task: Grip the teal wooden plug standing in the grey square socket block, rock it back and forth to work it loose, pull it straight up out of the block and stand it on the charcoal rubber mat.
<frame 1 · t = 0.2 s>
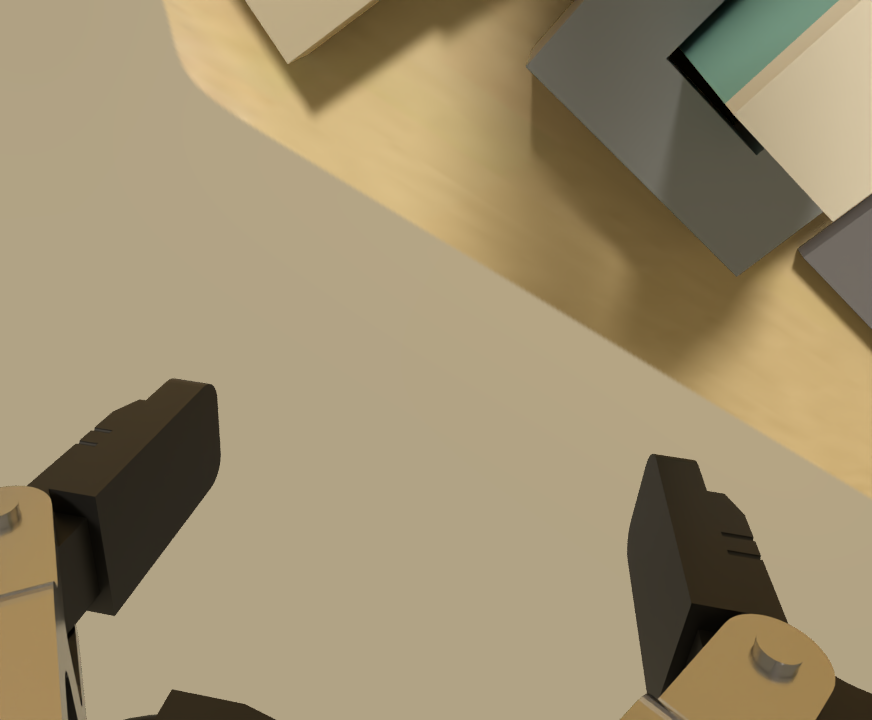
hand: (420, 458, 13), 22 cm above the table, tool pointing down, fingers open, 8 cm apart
grey square socket block: (746, 34, 27), on the table
plug: (788, 62, 22), in the grey square socket block
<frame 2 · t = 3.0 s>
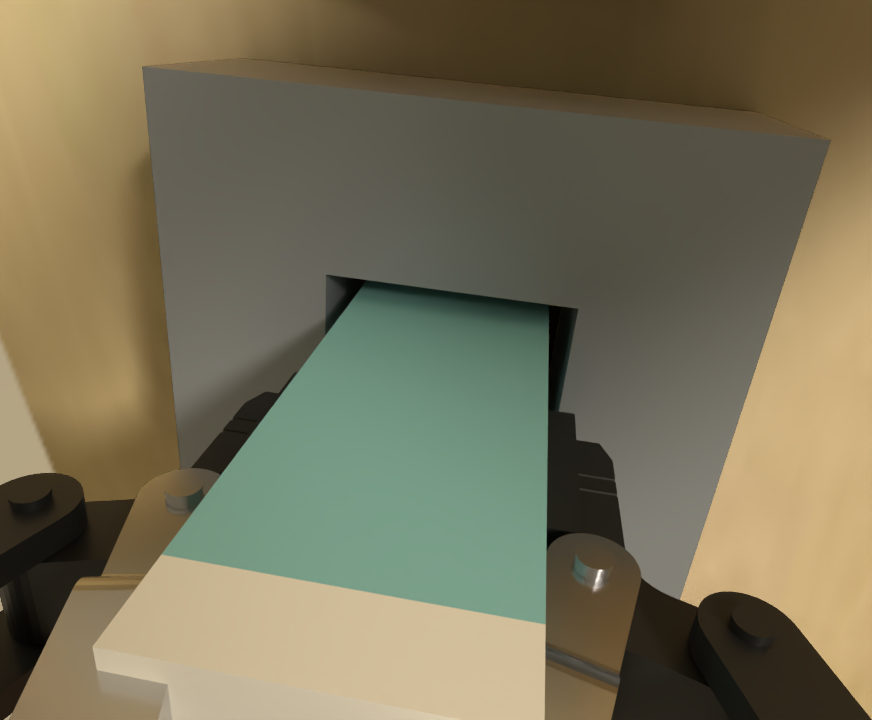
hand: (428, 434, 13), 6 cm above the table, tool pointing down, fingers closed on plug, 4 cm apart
grey square socket block: (463, 322, 18), on the table
plug: (422, 457, 13), in the grey square socket block, touching gripper
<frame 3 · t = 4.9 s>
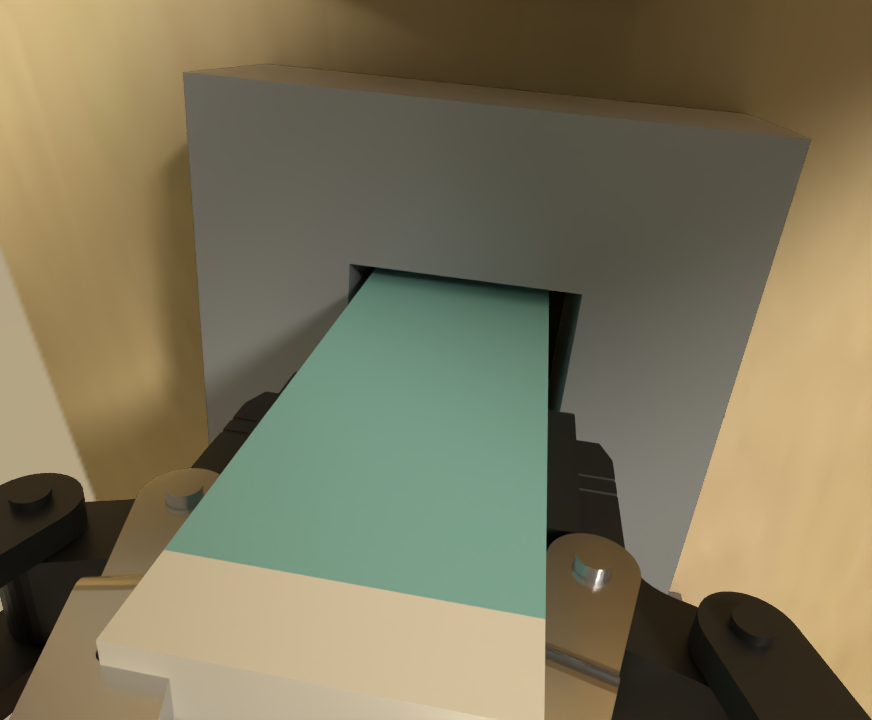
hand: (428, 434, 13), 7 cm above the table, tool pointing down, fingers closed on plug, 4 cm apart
grey square socket block: (472, 311, 20), on the table
plug: (422, 455, 13), point 8 cm above the table, touching gripper
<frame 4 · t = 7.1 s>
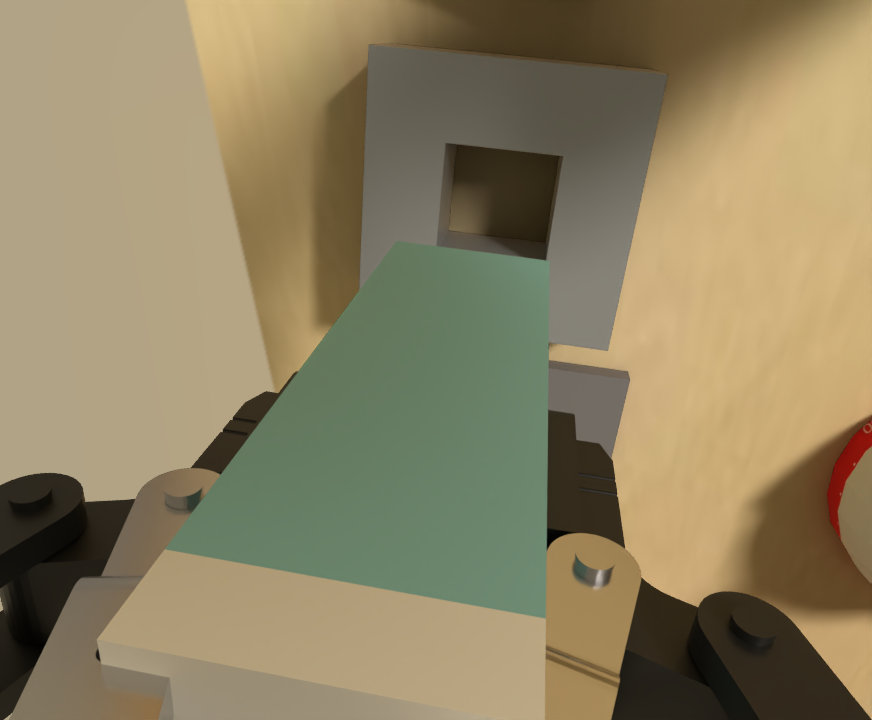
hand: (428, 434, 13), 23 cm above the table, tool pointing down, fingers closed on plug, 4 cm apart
mat: (503, 447, 40), on the table
grey square socket block: (502, 187, 34), on the table
plug: (423, 455, 13), point 24 cm above the table, touching gripper
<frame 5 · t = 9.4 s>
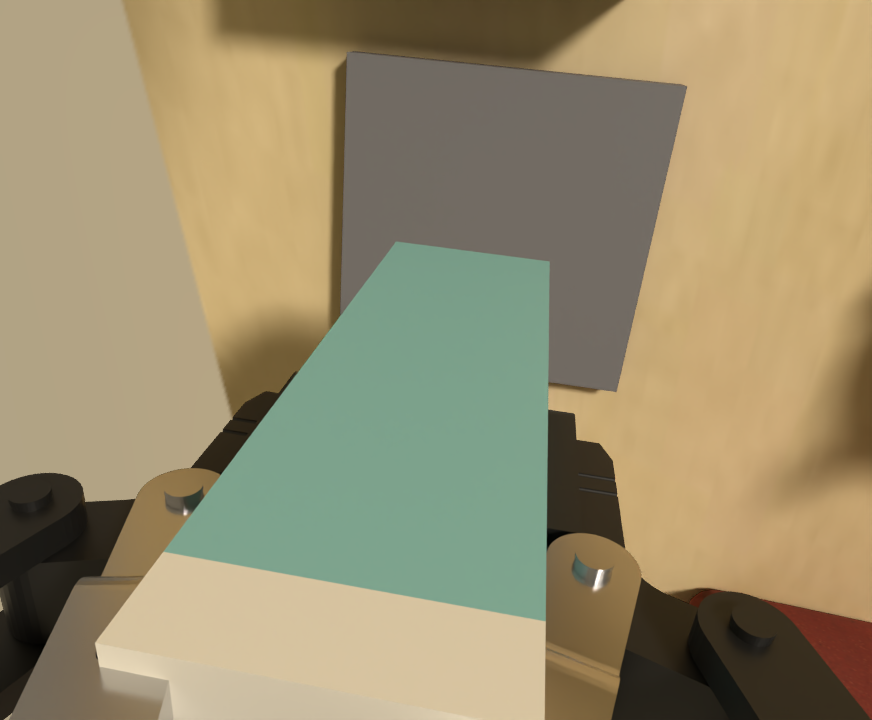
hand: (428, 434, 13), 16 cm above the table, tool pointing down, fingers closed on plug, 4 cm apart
plant pot: (778, 694, 36), on the table
mat: (494, 228, 28), on the table
plug: (422, 456, 13), point 17 cm above the table, touching gripper
when the fingers open (8 cm above the table, at t = 11.2 s): plug stays where it is, resting on mat.
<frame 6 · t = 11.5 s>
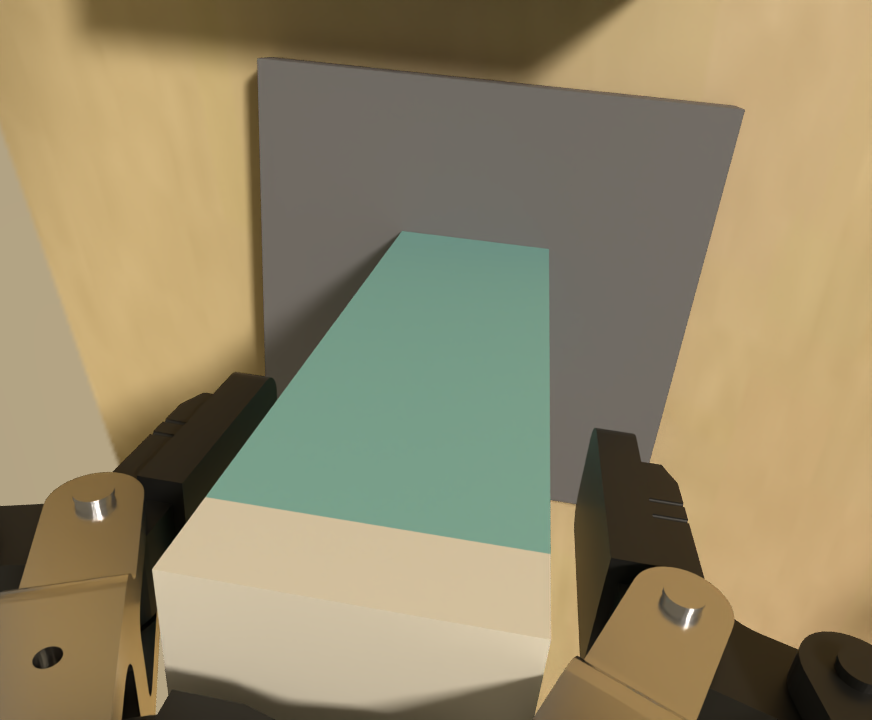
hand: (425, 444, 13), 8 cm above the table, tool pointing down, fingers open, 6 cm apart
mat: (470, 298, 20), on the table
plug: (431, 429, 13), on the mat, point 8 cm above the table
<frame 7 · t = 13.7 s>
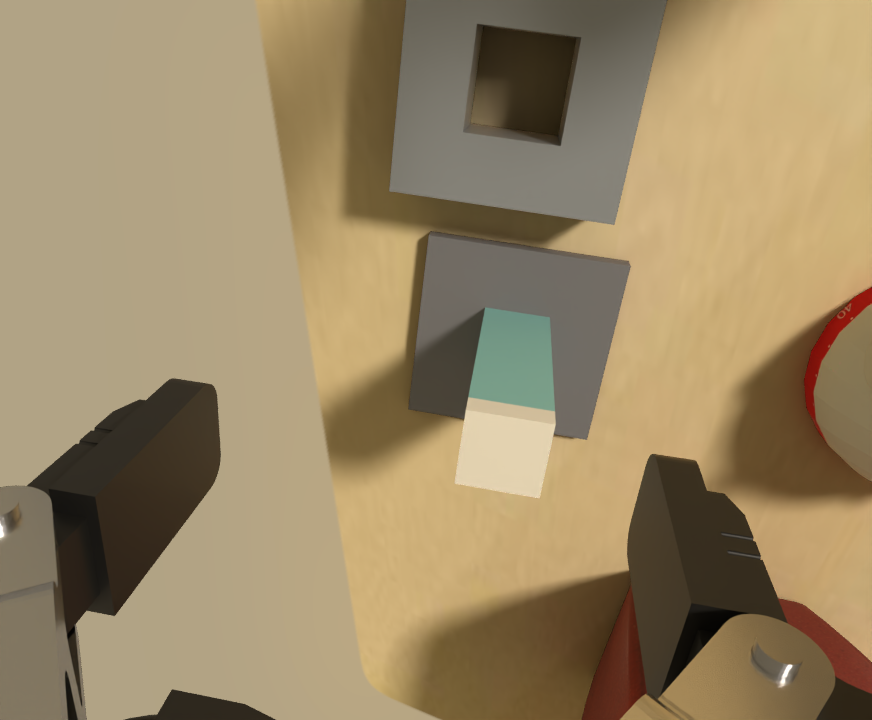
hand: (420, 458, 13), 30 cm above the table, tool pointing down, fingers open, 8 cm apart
plant pot: (694, 644, 53), on the table
mat: (512, 336, 44), on the table
grey square socket block: (521, 82, 38), on the table
plug: (508, 389, 37), on the mat, point 8 cm above the table
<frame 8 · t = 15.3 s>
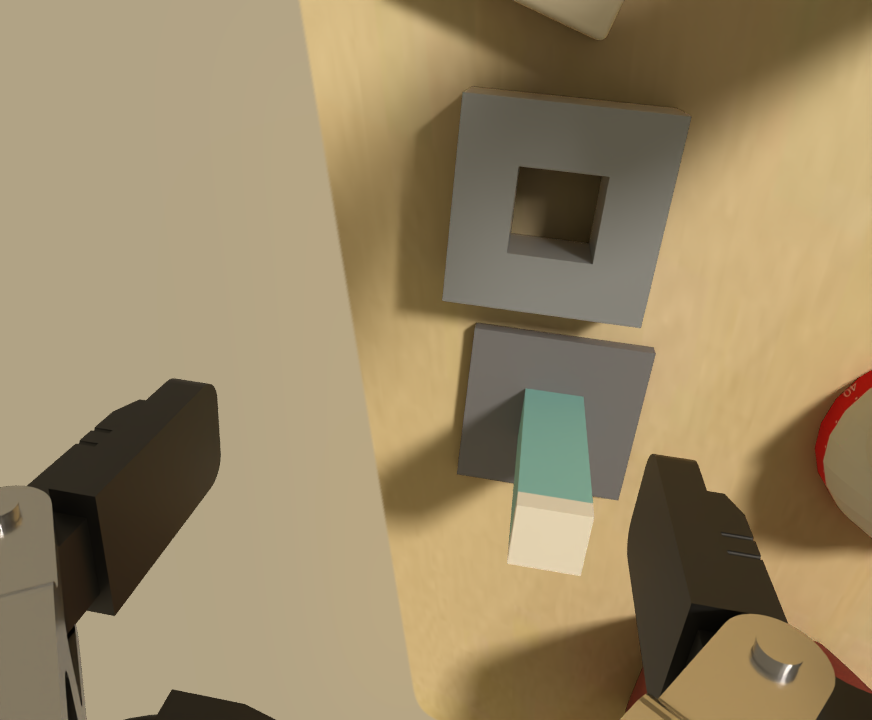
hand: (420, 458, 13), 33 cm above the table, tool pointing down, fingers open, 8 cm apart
plant pot: (719, 676, 58), on the table
mat: (549, 410, 49), on the table
grey square socket block: (556, 199, 43), on the table
plug: (549, 470, 42), on the mat, point 8 cm above the table
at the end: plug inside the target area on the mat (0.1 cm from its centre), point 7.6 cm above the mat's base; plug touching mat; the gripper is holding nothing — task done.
